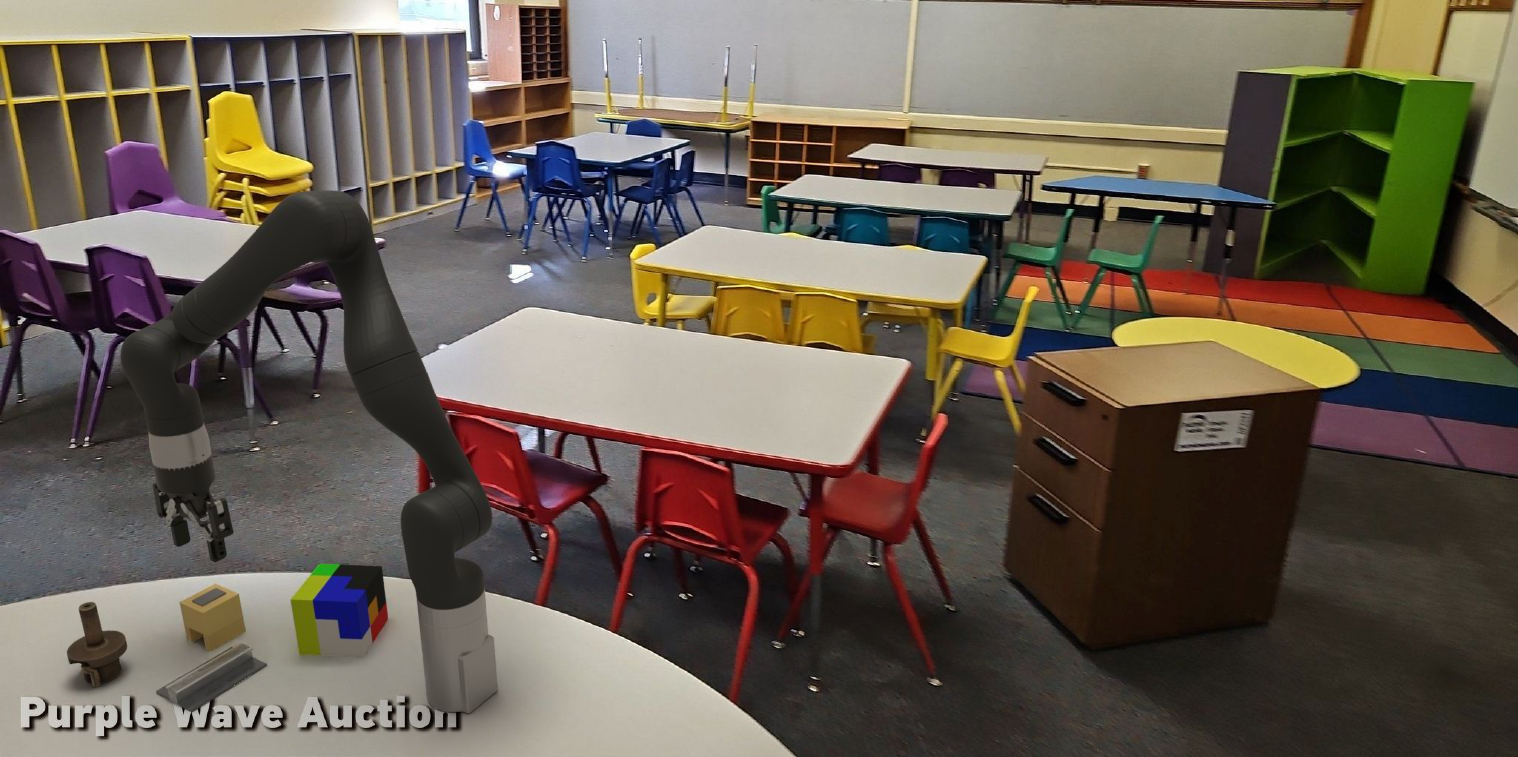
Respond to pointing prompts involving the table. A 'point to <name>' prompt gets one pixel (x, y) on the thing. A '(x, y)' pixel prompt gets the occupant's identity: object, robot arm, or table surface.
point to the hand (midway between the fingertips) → (200, 551)
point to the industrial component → (97, 648)
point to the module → (213, 616)
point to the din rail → (212, 678)
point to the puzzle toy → (340, 610)
